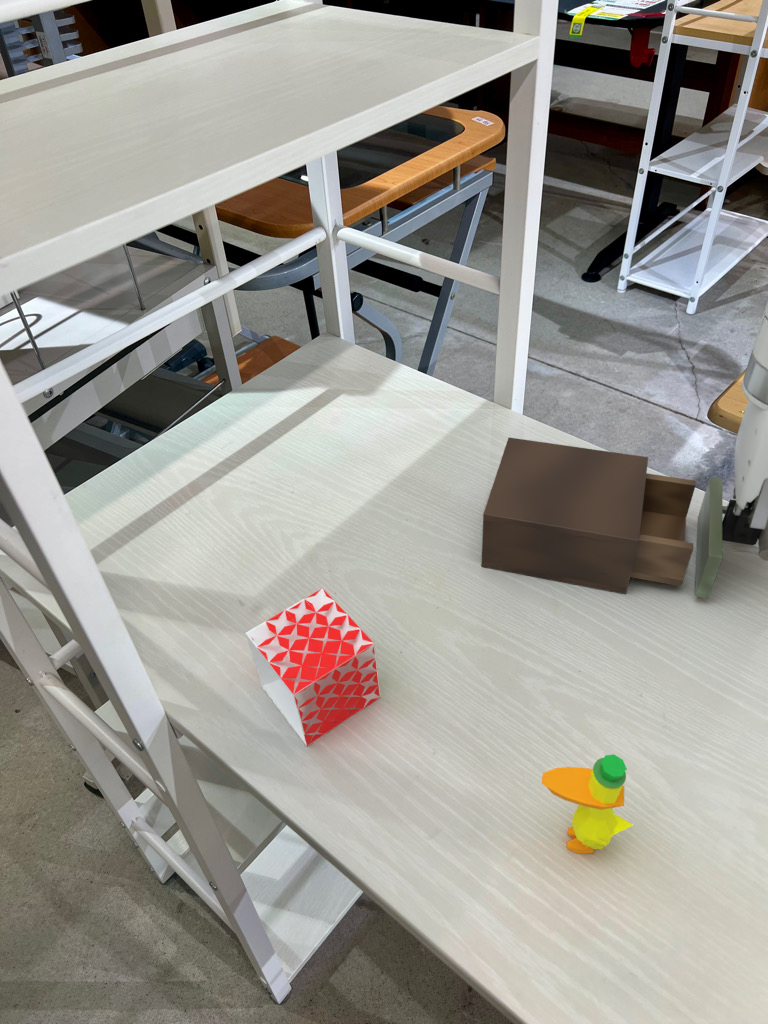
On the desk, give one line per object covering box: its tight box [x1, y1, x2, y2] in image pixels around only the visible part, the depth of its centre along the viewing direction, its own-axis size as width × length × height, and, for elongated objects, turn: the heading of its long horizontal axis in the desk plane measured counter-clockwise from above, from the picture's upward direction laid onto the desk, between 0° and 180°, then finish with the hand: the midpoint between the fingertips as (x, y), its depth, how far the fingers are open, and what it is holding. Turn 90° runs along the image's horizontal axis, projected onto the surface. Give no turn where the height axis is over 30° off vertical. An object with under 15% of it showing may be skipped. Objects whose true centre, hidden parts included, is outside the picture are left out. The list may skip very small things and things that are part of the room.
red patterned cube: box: [245, 587, 382, 747], centre depth 65 cm, size 8×8×8 cm
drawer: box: [630, 473, 768, 599], centre depth 75 cm, size 18×11×6 cm, turn 72°
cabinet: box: [480, 436, 649, 595], centre depth 77 cm, size 15×13×8 cm
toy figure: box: [541, 754, 634, 855], centre depth 53 cm, size 7×4×12 cm, turn 76°
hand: (737, 537), depth 73 cm, fingers closed
